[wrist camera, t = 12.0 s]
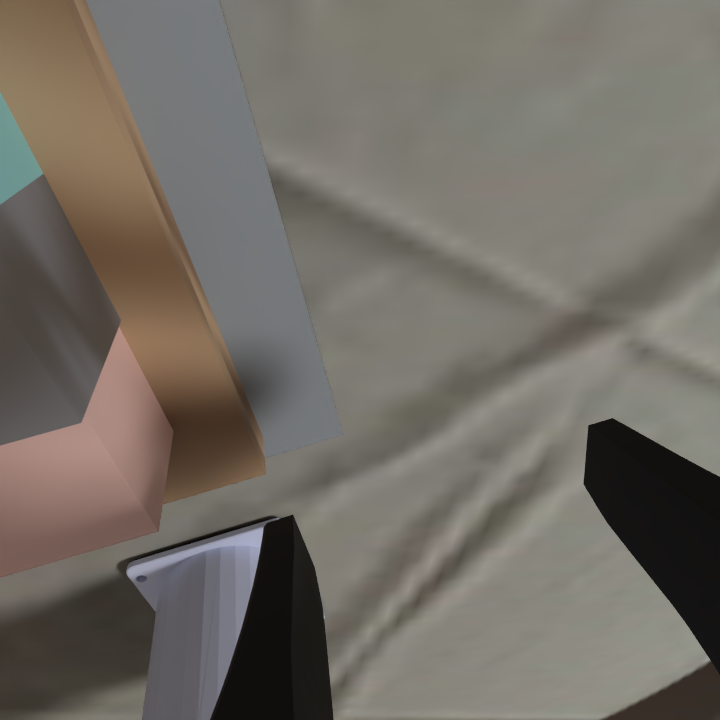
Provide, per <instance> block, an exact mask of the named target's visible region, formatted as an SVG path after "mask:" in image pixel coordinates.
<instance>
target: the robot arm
mask: <svg viewBox="0 0 720 720" xmlns="http://www.w3.org/2000/svg"><path fill="white" fill-rule="evenodd" d="M584 485H585V487H586V489H587V491H588V492H589V494H590V496H591V497H592V499H593V501H594V502H595V504H596V506H597V507H598V509H599V510H600V512H601V514H602V515H603V517H604V518H605V520H606V521H607V523H608V524H609V525H610V527H611V528H612V529H613V531H614V532H615V533H616V534H617V536H618V537H619V538H620V540H621V541H622V542H623V543H624V545H625V546H626V547H627V548H628V550H629V551H630V552H631V554H632V555H633V556H634V557H635V559H636V560H637V561H638V562H639V564H640V565H641V566H642V567H643V569H644V570H645V571H646V572H647V574H648V575H649V576H650V577H651V579H652V580H653V581H654V582H655V584H656V585H657V586H658V587H659V589H660V590H661V591H662V592H663V594H664V595H665V596H666V597H667V599H668V600H669V601H670V602H671V604H672V605H673V606H674V608H675V609H676V610H677V612H678V613H679V614H680V616H681V617H682V618H683V620H684V621H685V622H686V624H687V625H688V627H689V628H690V630H691V631H692V633H693V634H694V636H695V637H696V639H697V640H698V642H699V643H700V645H701V646H702V648H703V649H704V651H705V652H706V654H707V655H708V657H709V658H710V660H711V661H712V663H713V664H714V666H715V668H716V669H717V670H718V672H719V674H720V477H719V476H717V475H715V474H713V473H711V472H709V471H707V470H705V469H704V468H702V467H700V466H698V465H696V464H694V463H692V462H690V461H689V460H687V459H685V458H683V457H681V456H679V455H678V454H676V453H674V452H672V451H670V450H669V449H667V448H665V447H663V446H661V445H660V444H658V443H656V442H654V441H652V440H651V439H649V438H647V437H645V436H644V435H642V434H640V433H638V432H636V431H635V430H633V429H631V428H629V427H628V426H626V425H624V424H622V423H620V422H618V421H617V420H615V419H613V418H612V419H608V420H605V421H602V422H598V423H595V424H592V425H589V426H588V438H587V450H586V462H585V474H584ZM126 574H127V576H128V577H129V578H130V580H131V581H132V582H133V584H134V585H135V586H136V587H137V589H138V590H139V591H140V593H141V594H142V595H143V597H144V598H145V599H146V600H147V602H148V603H149V604H150V606H151V607H152V608H153V609H154V611H155V612H156V616H155V624H154V631H153V639H152V647H151V654H150V662H149V669H148V677H147V684H146V692H145V699H144V707H143V715H142V720H333V709H332V698H331V688H330V677H329V666H328V655H327V644H326V634H325V623H324V619H325V616H324V611H323V607H322V602H321V597H320V592H319V587H318V582H317V577H316V572H315V567H314V565H313V562H312V560H311V557H310V555H309V553H308V550H307V548H306V545H305V543H304V540H303V538H302V535H301V533H300V531H299V528H298V526H297V523H296V521H295V518H294V516H293V515H291V516H287V517H284V518H281V519H280V518H274V519H271V520H267V521H264V522H261V523H257V524H254V525H251V526H247V527H244V528H241V529H237V530H234V531H231V532H227V533H224V534H221V535H218V536H214V537H211V538H208V539H204V540H201V541H198V542H194V543H191V544H188V545H184V546H181V547H178V548H174V549H171V550H168V551H165V552H161V553H158V554H155V555H151V556H148V557H145V558H141V559H138V560H135V561H132V562H130V563H129V564H128V566H127V570H126Z"/></svg>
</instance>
